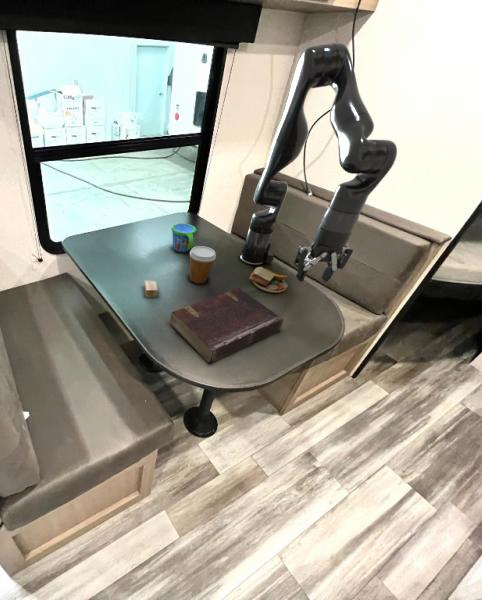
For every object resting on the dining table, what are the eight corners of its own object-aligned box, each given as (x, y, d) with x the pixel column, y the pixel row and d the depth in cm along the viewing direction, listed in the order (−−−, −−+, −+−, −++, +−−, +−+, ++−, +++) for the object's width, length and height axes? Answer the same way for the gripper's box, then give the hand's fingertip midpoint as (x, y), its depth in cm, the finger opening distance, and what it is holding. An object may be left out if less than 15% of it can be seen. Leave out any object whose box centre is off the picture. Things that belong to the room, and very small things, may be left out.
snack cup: (164, 242, 147) (166, 221, 141) (185, 240, 149) (188, 220, 143) (175, 258, 135) (178, 236, 129) (198, 256, 137) (202, 234, 131)
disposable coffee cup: (210, 287, 117) (216, 259, 110) (184, 283, 119) (189, 255, 112) (210, 274, 125) (216, 247, 118) (186, 271, 126) (190, 244, 119)
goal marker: (155, 287, 116) (155, 280, 114) (156, 297, 111) (157, 290, 109) (144, 287, 116) (144, 280, 114) (145, 297, 111) (146, 290, 109)
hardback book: (209, 363, 87) (213, 350, 84) (169, 324, 100) (171, 311, 97) (279, 330, 99) (284, 318, 96) (235, 299, 112) (239, 287, 109)
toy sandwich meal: (276, 298, 113) (280, 287, 110) (243, 282, 121) (246, 272, 118) (291, 286, 120) (296, 275, 117) (259, 271, 128) (263, 261, 125)
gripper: (354, 220, 84) (328, 273, 94) (302, 219, 83) (281, 273, 93) (373, 232, 78) (343, 287, 88) (317, 231, 77) (293, 287, 87)
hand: (311, 279), depth 90 cm, fingers open, 7 cm apart
